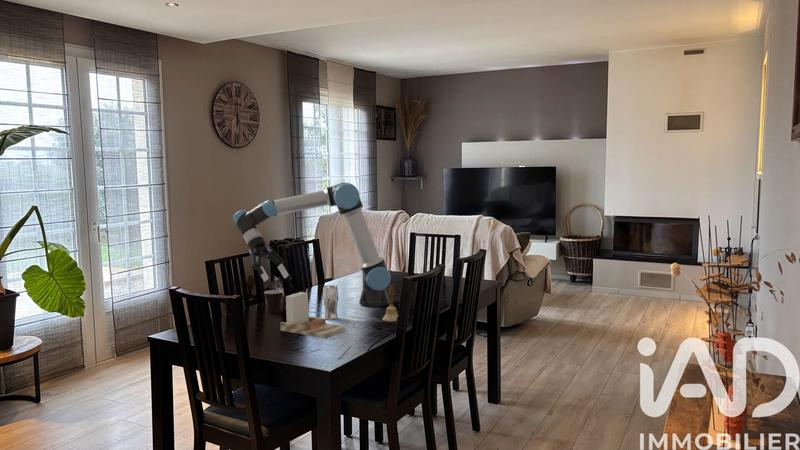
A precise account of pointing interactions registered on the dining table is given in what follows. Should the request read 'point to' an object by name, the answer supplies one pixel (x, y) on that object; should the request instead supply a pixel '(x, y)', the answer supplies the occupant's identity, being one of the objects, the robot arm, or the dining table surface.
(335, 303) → the beer glass
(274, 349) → the dining table surface
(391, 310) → the brush
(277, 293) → the coffee mug
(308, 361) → the dining table surface
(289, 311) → the white rectangular box
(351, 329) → the dining table surface
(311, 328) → the press tester
